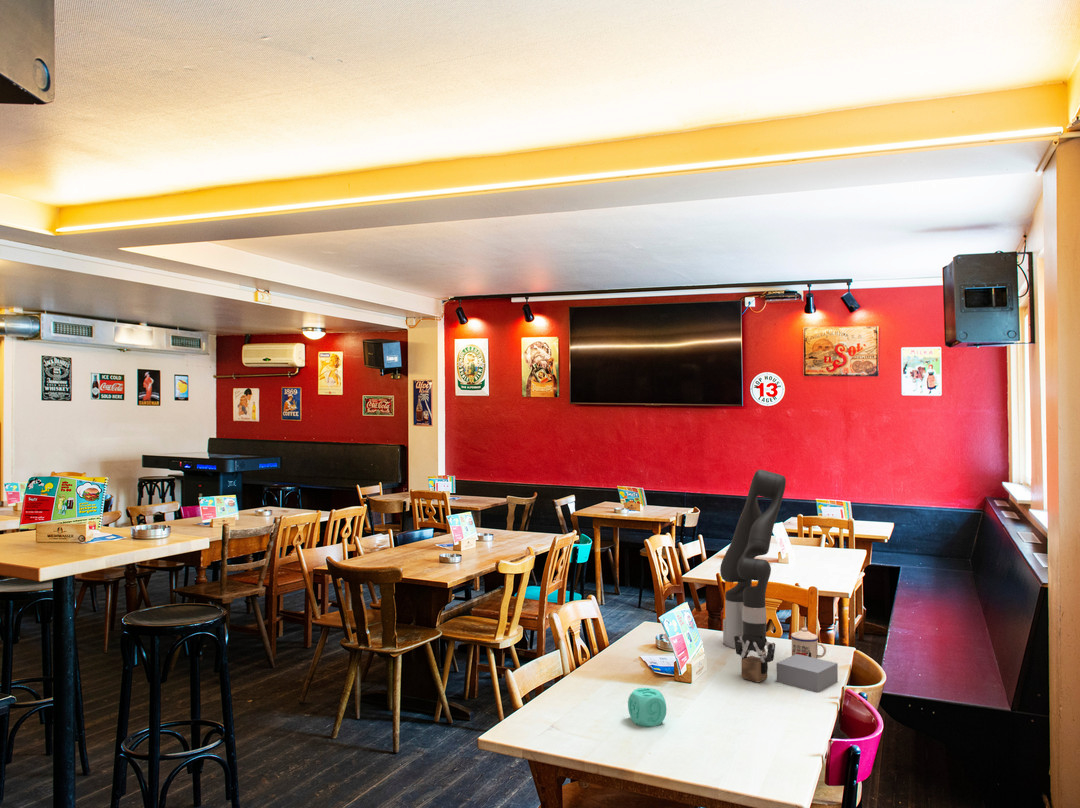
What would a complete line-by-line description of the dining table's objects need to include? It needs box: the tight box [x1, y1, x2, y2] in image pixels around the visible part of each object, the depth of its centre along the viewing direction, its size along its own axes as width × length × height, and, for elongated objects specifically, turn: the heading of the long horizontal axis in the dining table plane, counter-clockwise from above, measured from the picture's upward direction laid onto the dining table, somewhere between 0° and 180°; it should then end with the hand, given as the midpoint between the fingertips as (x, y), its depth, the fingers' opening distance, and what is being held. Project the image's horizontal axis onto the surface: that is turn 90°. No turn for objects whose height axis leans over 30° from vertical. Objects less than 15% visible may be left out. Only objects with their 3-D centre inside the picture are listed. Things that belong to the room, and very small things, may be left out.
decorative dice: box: [627, 687, 668, 728], centre depth 206 cm, size 8×8×8 cm
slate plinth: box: [775, 654, 839, 693], centre depth 240 cm, size 14×14×6 cm
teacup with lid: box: [790, 627, 827, 659], centre depth 260 cm, size 12×9×12 cm
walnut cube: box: [740, 655, 768, 683], centre depth 242 cm, size 6×6×6 cm
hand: (754, 671), depth 242 cm, fingers closed on walnut cube, 6 cm apart
